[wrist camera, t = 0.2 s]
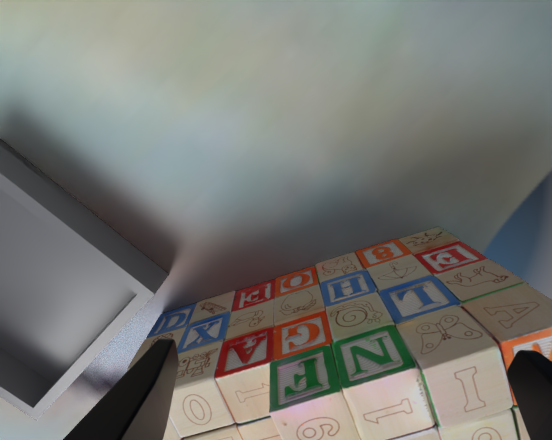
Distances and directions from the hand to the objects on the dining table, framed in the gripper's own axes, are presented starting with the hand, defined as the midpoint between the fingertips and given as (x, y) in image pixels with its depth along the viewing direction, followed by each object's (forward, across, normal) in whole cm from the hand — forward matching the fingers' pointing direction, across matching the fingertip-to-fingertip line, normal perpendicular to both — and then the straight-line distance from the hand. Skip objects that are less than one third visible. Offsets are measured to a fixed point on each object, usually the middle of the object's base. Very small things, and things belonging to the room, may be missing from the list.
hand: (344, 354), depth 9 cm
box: (+13, +20, +10) cm, 25 cm away
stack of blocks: (+13, -1, +11) cm, 17 cm away
